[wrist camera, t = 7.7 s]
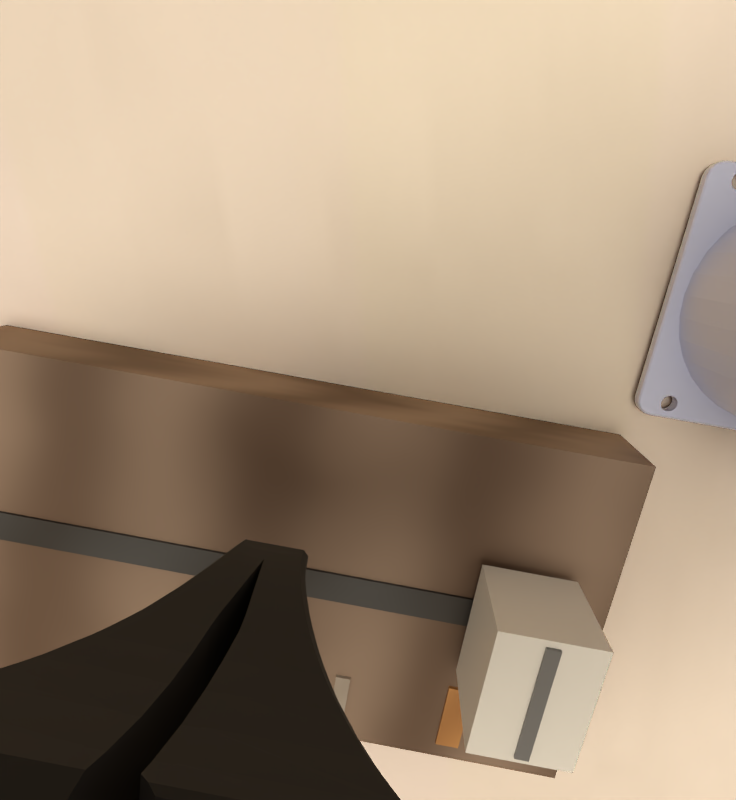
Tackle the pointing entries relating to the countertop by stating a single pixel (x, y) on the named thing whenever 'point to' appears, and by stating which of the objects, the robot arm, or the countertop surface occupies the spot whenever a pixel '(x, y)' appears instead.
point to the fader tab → (530, 669)
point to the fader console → (293, 512)
